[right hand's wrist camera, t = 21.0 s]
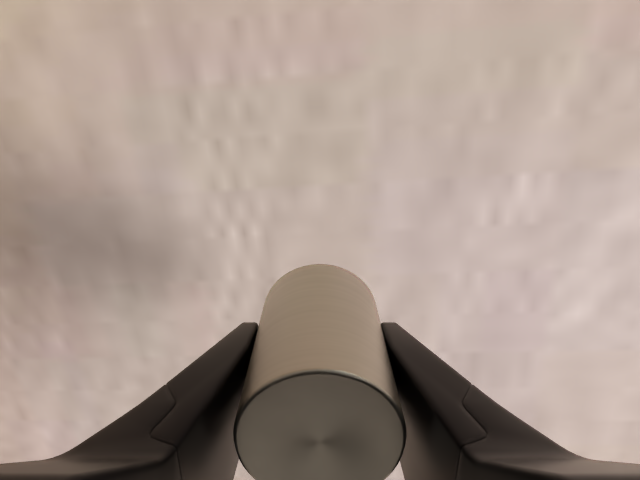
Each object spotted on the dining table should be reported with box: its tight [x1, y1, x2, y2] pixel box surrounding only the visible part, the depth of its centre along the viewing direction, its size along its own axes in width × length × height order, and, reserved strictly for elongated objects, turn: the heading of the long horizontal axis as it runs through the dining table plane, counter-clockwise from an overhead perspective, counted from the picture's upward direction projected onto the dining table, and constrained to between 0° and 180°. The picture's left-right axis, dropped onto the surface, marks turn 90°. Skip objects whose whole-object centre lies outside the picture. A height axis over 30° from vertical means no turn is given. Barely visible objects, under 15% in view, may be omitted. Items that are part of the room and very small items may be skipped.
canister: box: [233, 264, 407, 480], centre depth 10 cm, size 3×3×5 cm
